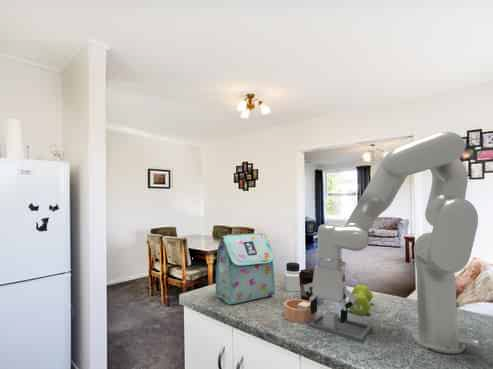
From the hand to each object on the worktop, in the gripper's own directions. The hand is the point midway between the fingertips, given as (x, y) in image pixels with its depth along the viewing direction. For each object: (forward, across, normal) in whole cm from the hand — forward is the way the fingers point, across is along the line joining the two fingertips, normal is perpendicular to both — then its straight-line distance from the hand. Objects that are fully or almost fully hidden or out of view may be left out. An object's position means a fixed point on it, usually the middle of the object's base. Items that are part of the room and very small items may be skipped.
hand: (328, 317), depth 91 cm
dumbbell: (+4, -3, -24) cm, 25 cm away
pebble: (+3, +2, -5) cm, 7 cm away
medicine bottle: (+4, +29, -30) cm, 41 cm away
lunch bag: (+5, +40, -8) cm, 41 cm away
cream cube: (+4, +10, -3) cm, 11 cm away
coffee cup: (+4, +15, -18) cm, 23 cm away
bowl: (+4, +11, -2) cm, 12 cm away
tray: (+4, -3, -2) cm, 5 cm away
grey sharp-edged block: (+3, -1, 0) cm, 3 cm away
